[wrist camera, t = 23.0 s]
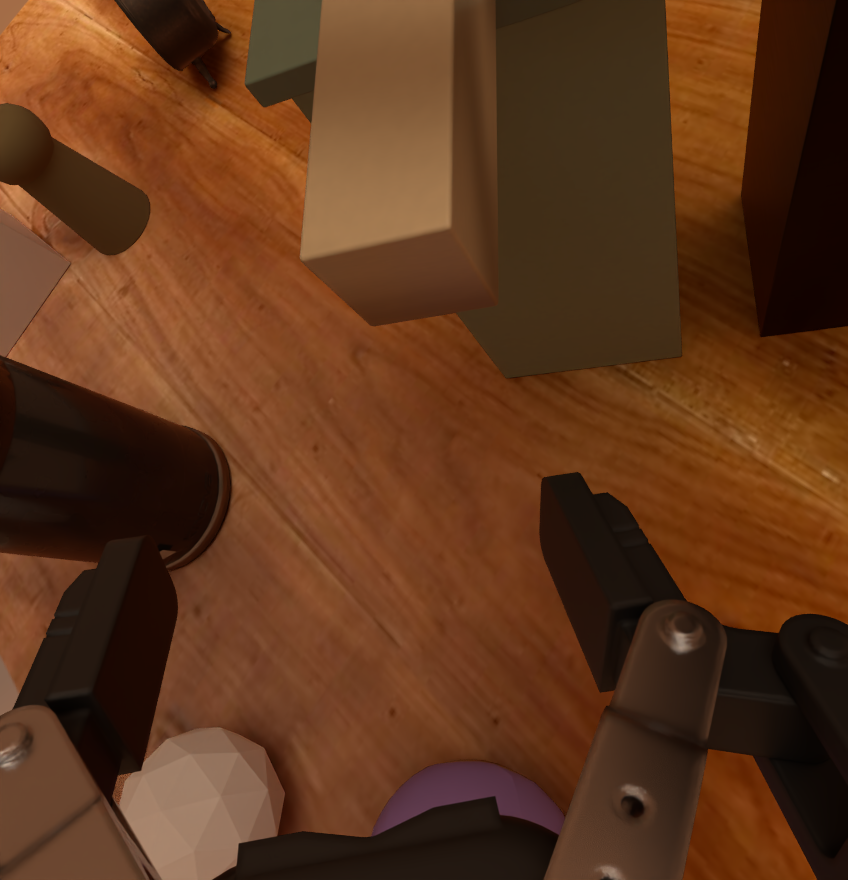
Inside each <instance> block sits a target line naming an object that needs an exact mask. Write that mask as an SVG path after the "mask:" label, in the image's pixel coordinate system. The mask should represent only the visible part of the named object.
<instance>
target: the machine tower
mask: <svg viewBox="0 0 848 880" xmlns="http://www.w3.org/2000/svg"><path fill="white" fill-rule="evenodd" d="M741 197H742V204H743V212H744V219H745V227H746V234H747V241H748V249H749V256H750V264H751V271H752V279H753V286H754V293H755V301H756V308H757V316H758V323H759V331H760V336H761V337H764V336H771V335H779V334H787V333H795V332H802V331H810V330H818V329H825V328H833V327H841V326H848V0H762V4H761V13H760V23H759V32H758V41H757V51H756V60H755V69H754V79H753V88H752V97H751V107H750V116H749V125H748V135H747V144H746V153H745V163H744V172H743V181H742V191H741Z"/></svg>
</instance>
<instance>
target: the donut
mask: <svg viewBox="0 0 848 880" xmlns="http://www.w3.org/2000/svg"><path fill="white" fill-rule="evenodd" d="M492 796H496V801H497V805H498V810H499V814H500V815H506V816H513V817H517V818H521V819H525V820H529V821H531V822H534V823H536V824H539V825H542V826H544V827H545V828H547V829H549V830H551V831H553V832H555V833H557V834H558V835H560V832H561V829H562V826H563V823H564V820H565V817H564V815H563V813H562V812H561V810H560V809H559V808H558V807H557V805H556V804H555V803H554V802H553V801H552V800H551V799H550V798H549V796H548V795H547V794H546V793H545V792H544V791H543V790H542V789H541V788H540V787H539V786H538V785H537V784H536V783H534V782H533V781H531V780H529V779H527V778H526V777H524V776H522V775H520V774H518V773H516V772H515V771H513V770H511V769H508V768H506V767H504V766H501V765H499V764H496V763H491V762H487V761H482V760H457V761H452V762H446V763H441V764H435V765H432V766H428V767H426V768H425V769H423V770H422V771H420V772H418V773H417V774H415V775H413V776H412V777H411V778H410V779H409V780H408V781H406V782H405V783H404V784H403V785H402V786H401V787H400V788H399V789H398V790H397V791H396V793H395V794H394V795H393V796H392V797H391V798H390V800H389V801H388V803H387V804H386V806H385V807H384V809H383V810H382V812H381V814H380V816H379V818H378V820H377V822H376V824H375V826H374V829H373V832H372V836H375V835H377V834H379V833H381V832H384V831H386V830H388V829H390V828H392V827H394V826H396V825H398V824H400V823H402V822H404V821H406V820H408V819H410V818H412V817H415V816H417V815H419V814H421V813H423V812H425V811H427V810H429V809H431V808H433V807H438V806H443V805H448V804H454V803H459V802H465V801H470V800H475V799H481V798H486V797H492ZM372 836H371V837H372Z"/></svg>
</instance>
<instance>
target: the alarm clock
mask: <svg viewBox="0 0 848 880" xmlns="http://www.w3.org/2000/svg"><path fill="white" fill-rule="evenodd" d="M115 2H116V3H117V4H118V5H119V7H120V8H121V9H122V11H123V12H124V13H125V14H126V16H127V17H128V18H129V20H130V21H131V22H132V23H133V25H134V26H135V27H136V29H137V30H138V31H139V32H140V33H141V34H142V36H143V37H144V38H145V39H146V40H147V41H148V43H149V44H150V45H151V46H152V47H153V48H154V49H155V51H156V52H157V53H158V54H159V55H160V56H161V57H162V58H163V59H164V60H165V61H166V62H167V63H168V64H169V65H170V66H172V67H173V68H174V69H176V70H178V71H183V69H184V68H186V67H187V66H188V65H189V64H191V63H192V64H194V65H195V66H196V68H197V69H198V70H199V72H200V73H201V74H202V75H203V76H204V77H205V79H206V80H207V81H208V82H209V85H210V87H211V88H212V89H216V87H217V82H216V81H215V80H214V79H213V78H212V77H211V75H210V73H209V71H208V70H207V68H206V66H205V64H204V63H203V61H202V60H201V56H202V55H203V54H204V53H205V52H206V51H207V50H209V49H210V48H211V47H213V46H214V45H215V44H216V42H217V38H218V30H219V31H222V32H224V33H228V34H231V32H230V31H229V30H228V29H226V28H223V27H222V26H221V25H219V24H218V23H217V22H215V20H216V19H215V17H214V16H213V15H212V13H211V11H210V10H209V9H208V7H207V6H206V4H205V2H204V1H203V0H115Z"/></svg>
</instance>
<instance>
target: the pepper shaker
mask: <svg viewBox="0 0 848 880" xmlns="http://www.w3.org/2000/svg"><path fill="white" fill-rule="evenodd" d="M0 181H1V182H4V183H6V184H9V185H19V186H20V187H21V188H23V189H24V190H25V191H26V192H28V193H29V194H30V195H31V196H32V197H34V198H35V199H36V200H37V201H38V202H40V203H41V204H42V205H43V206H45V207H46V208H47V209H48V210H49V211H51V212H52V213H53V214H54V215H55V216H57V217H58V218H59V219H60V220H61V221H63V222H64V223H65V224H66V225H68V226H69V227H70V228H71V229H72V230H74V231H75V232H76V233H77V234H78V235H80V236H81V237H82V238H83V239H84V240H86V241H87V242H88V243H89V244H91V245H92V246H93V247H94V248H95V249H97V250H98V251H99V252H100V253H103V254H106V255H115V254H118V253H120V252H122V251H124V250H126V249H127V248H128V247H130V246H131V245H132V244H133V243H134V242H135V241H136V240H137V239H138V237H139V236H140V235H141V233H142V232H143V230H144V228H145V226H146V224H147V221H148V217H149V214H150V203H149V200H148V197H147V195H146V194H145V193H144V192H143V191H142V190H140V189H138V188H137V187H135V186H133V185H132V184H130V183H128V182H127V181H125V180H123V179H121V178H120V177H118V176H116V175H115V174H113V173H111V172H110V171H108V170H106V169H105V168H103V167H101V166H99V165H98V164H96V163H94V162H93V161H91V160H89V159H88V158H86V157H84V156H83V155H81V154H79V153H78V152H76V151H74V150H72V149H71V148H69V147H67V146H66V145H64V144H62V143H61V142H59V141H57V140H56V139H54V138H52V137H51V134H50V132H49V129H48V128H47V127H46V126H45V124H44V123H43V122H42V121H41V120H40V119H39V118H38V117H37V116H36V115H35V114H34V113H32V112H31V111H30V110H28V109H26V108H24V107H22V106H19V105H14V104H8V103H5V104H1V105H0Z"/></svg>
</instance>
